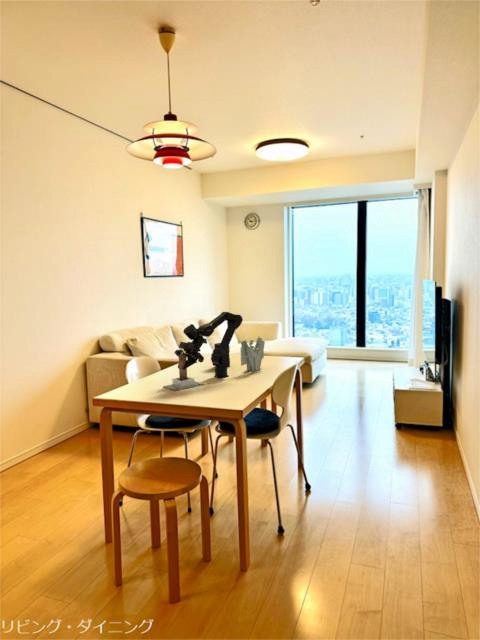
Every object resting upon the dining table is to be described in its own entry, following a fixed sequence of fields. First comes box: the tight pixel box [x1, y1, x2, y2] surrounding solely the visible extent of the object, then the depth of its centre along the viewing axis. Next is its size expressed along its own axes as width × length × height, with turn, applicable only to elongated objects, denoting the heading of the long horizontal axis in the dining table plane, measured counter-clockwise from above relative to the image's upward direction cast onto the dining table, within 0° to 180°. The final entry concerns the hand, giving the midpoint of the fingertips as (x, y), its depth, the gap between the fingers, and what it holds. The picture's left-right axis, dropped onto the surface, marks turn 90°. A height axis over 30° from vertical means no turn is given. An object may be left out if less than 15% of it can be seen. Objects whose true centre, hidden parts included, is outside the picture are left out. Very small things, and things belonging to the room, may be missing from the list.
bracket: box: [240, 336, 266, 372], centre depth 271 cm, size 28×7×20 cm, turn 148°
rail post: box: [178, 355, 188, 380], centre depth 235 cm, size 4×4×14 cm
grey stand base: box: [162, 376, 205, 392], centre depth 235 cm, size 18×12×4 cm, turn 131°
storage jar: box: [213, 342, 231, 368], centre depth 285 cm, size 10×10×15 cm
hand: (180, 368), depth 234 cm, fingers closed on rail post, 4 cm apart
